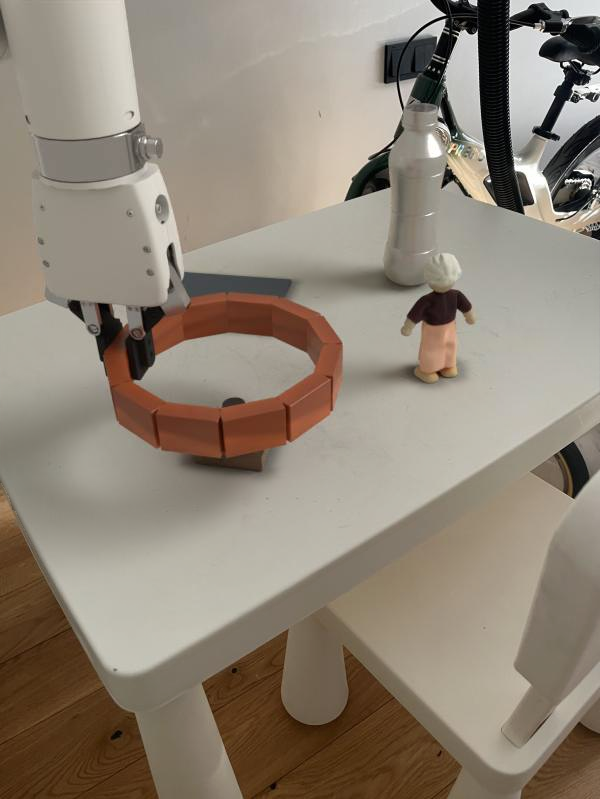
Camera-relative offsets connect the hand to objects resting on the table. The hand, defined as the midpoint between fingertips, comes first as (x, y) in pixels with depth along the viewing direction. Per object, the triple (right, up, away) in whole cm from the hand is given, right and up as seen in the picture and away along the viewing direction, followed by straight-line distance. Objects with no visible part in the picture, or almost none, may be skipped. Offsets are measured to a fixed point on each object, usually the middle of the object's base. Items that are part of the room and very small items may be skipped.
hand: (129, 368), depth 62 cm
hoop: (+8, -1, -1) cm, 9 cm away
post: (+9, -7, +2) cm, 11 cm away
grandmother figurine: (+27, 0, +11) cm, 29 cm away
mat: (+5, +9, +24) cm, 26 cm away
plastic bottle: (+28, +12, +27) cm, 40 cm away
